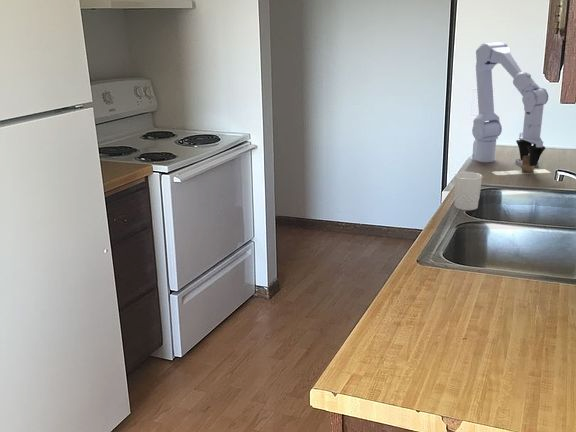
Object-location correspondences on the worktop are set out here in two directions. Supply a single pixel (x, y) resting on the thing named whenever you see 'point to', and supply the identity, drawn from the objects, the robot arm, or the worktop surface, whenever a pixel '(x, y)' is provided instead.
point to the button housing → (518, 162)
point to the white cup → (467, 190)
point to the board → (519, 172)
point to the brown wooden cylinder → (527, 165)
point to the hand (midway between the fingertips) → (528, 162)
